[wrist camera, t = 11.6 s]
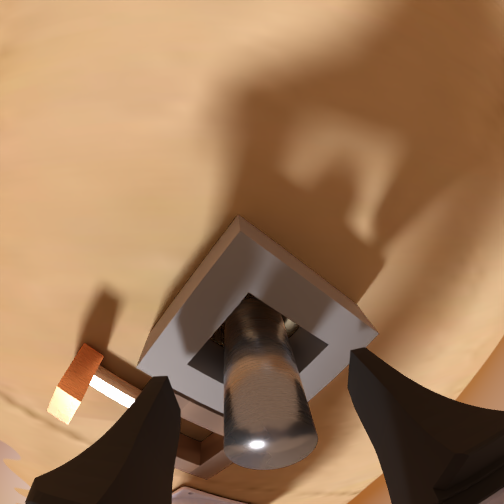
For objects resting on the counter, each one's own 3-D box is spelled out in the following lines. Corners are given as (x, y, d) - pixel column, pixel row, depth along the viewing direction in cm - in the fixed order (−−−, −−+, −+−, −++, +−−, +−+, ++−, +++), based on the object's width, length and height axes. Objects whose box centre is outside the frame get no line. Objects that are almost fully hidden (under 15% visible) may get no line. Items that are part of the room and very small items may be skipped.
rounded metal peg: (293, 319, 16) (336, 437, 8) (255, 354, 17) (272, 477, 9) (250, 286, 15) (269, 405, 8) (212, 325, 16) (204, 451, 8)
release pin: (175, 398, 17) (167, 448, 13) (155, 419, 18) (145, 465, 14) (84, 342, 15) (57, 386, 12) (71, 369, 16) (46, 411, 12)
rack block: (356, 304, 16) (378, 333, 13) (264, 396, 18) (269, 432, 15) (238, 214, 14) (240, 230, 11) (149, 333, 16) (136, 367, 13)
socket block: (266, 411, 18) (270, 436, 16) (207, 457, 20) (206, 479, 18) (171, 362, 16) (165, 388, 14) (124, 419, 18) (117, 442, 16)
